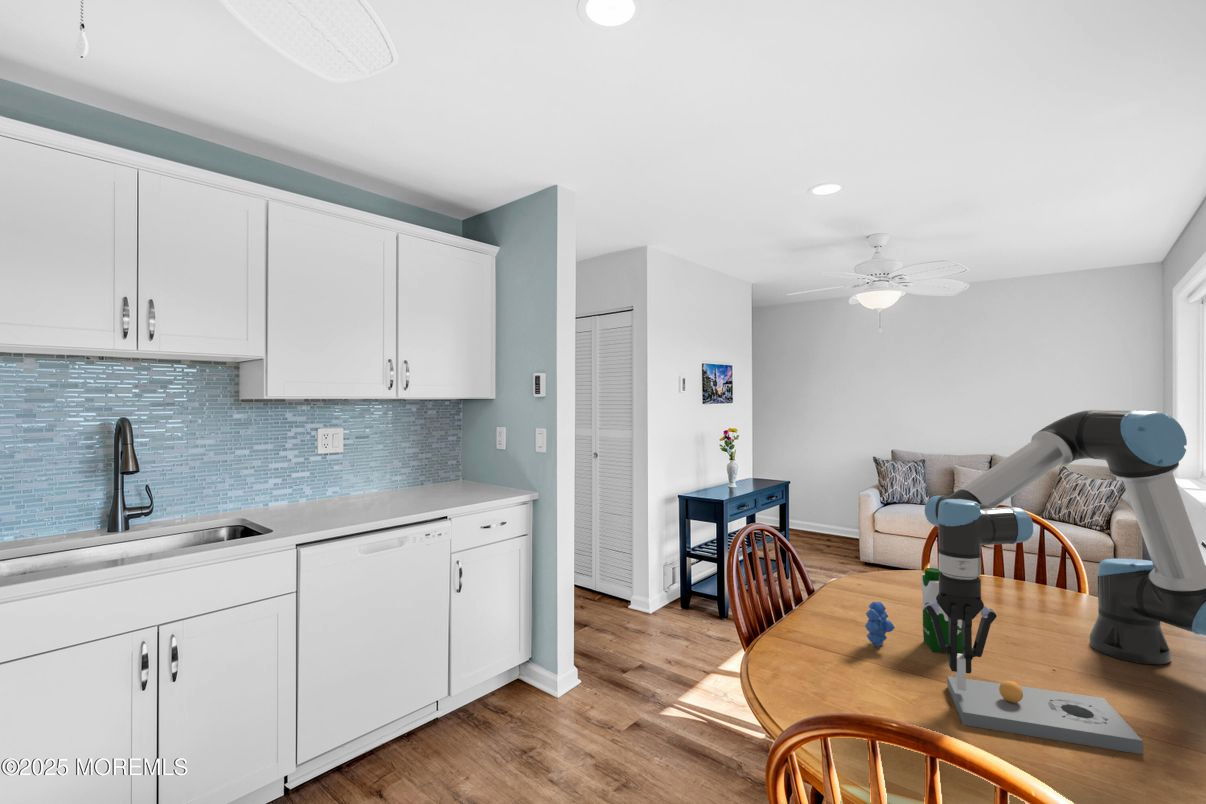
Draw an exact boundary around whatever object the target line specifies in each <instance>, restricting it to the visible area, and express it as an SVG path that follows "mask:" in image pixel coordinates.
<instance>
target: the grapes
mask: <svg viewBox="0 0 1206 804" xmlns="http://www.w3.org/2000/svg"><path fill="white" fill-rule="evenodd" d="M868 608H869V610H868V611H866V613H865V615H866V618H868V620H867V622H866V623H865V625H864V627H865V629H866V630H867V632H868V634H867V633H866V637H867V640H869V642H870V643H871V644H872V645H873V647H876V648H879V647H880V646H882V645H883V644H884V641H886V640H887V638H888V637H887V635H886V633H891V632H893V630H895V628H896V627H895V625H894V624H893V623H892V621H890V620H889V619H888V618H889V615H888V613H887V612H886V609H887V608H886V606H885V605H884V603H882V602H881V601H872V602H871V603H870V604H869V605H868Z"/></svg>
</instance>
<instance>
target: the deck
mask: <svg viewBox="0 0 1206 804" xmlns="http://www.w3.org/2000/svg"><path fill="white" fill-rule="evenodd" d="M946 678H947V679H946V680H947V685H946V686H947V690H948V693H949V694H950V697H951V700H952V701H953V704H954V706H955V708H956V710H957V711H956V712H957V714H958V716H959V718H960V720H961V723H962V725H963V726H969V727H973V728H974V727H975V728H980V729H985V730H986V729H987V730H992V731H998V732H1004V733H1009V734H1010V733H1011V734H1017V735H1023V736H1028V737H1035V738H1041V739H1048V740H1054V741H1058V742H1059V741H1060V742H1064V743H1072V744H1078V745H1083V746H1090V747H1095V748H1102V749H1108V750H1114V751H1120V752H1125V753H1132V754H1138V755H1144V740H1143V739H1142V738H1141V737H1140V736H1139V735H1138V733H1137V732H1136V731H1135V730H1134V729H1133V728H1132V727H1131V726H1130V725H1129V723H1127V721H1125V720H1124V718H1122V716H1121V715H1120V714H1119V713H1118V712H1117V711H1116V710H1115V709H1114V708H1113V706H1112V705H1110V703H1109V702H1108V701H1107V700H1106V699H1105V698H1104V697H1099V696H1091V695H1085V694H1078V693H1072V692H1071V693H1070V692H1065V691H1064V692H1063V691H1058V690H1050V689H1042V688H1035V687H1029V686H1022V685H1019V686H1020V687H1021V689H1022V691H1023V698H1022V699H1021V701H1019V702H1016V703H1012V702H1009V701H1007V700H1005V699H1004V698H1003V697H1002V696H1001V694H1000V691H999V687H1000V684H1001V683H1002V682H1001V683H1000V682H992V681H986V680H985V681H984V680H977V679H970V678H966V691H964V690H958V689H957V687H956V685H955V676H950V675H947V677H946Z"/></svg>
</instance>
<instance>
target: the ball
mask: <svg viewBox="0 0 1206 804" xmlns="http://www.w3.org/2000/svg"><path fill="white" fill-rule="evenodd" d="M1020 686H1021V685H1020V684H1018V683H1017V682H1015V681H1012V680H1004V681H1002V682H1001V684H1000V687H999V691H1000V694H1001V696H1002V697H1003V698H1004V699H1005V700H1007V701H1009V702H1012V703H1016V702H1019V701H1021V699H1022V698H1023V691H1022V689H1021V687H1020Z"/></svg>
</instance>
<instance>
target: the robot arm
mask: <svg viewBox="0 0 1206 804" xmlns="http://www.w3.org/2000/svg"><path fill="white" fill-rule="evenodd" d="M1187 445H1188V443H1187V436H1186V433H1185V431H1184V429H1183V426H1182V425H1181V424H1180V423H1179V422H1178V421H1177V420H1176V419H1175V418H1174V417H1172V416H1171V415H1169V414H1166V413H1164V412H1161V411H1152V410H1145V409H1135V410H1118V409H1117V410H1116V409H1115V410H1112V409H1111V410H1109V409H1108V410H1107V409H1106V410H1103V409H1087V410H1082V411H1078V412H1074V413H1072V414H1069V415H1066V416H1064V417H1061V418H1059V419H1058V420H1056V421H1053V422H1052V423H1050V424H1048V425H1046V426H1044V427H1042V429H1040V430H1038V431H1037V432H1035V433H1034V434H1033V435H1032V436H1031V439H1030V442H1028V443H1027V444H1025V445H1024V446H1022V447H1021V448H1020V449H1017V450H1016V451H1015V452H1013V453H1011V454H1010V455H1008V457H1006V458H1004V459H1003V460H1002V461H1000V462H998V463H997V464H995V465H994V466H993V467H991V468H990V469H988V470H986V471H985V472H983V473H982V474H980V475H979V476H977V477H976V478H974V479H973V480H972V481H970V482H967V484H966V485H964V486H962V487H960V488H959V489H958V490H956V491H955V492H953V493H951V494H950V495H948V496H947V495H934V496H932V497H929V499H928V500H927V501H926V503H925V504H924V505H925V506H924V515H925V518H926V520H927V522H929V523H930V524H931V525H933V526H935V527H937V533H938V535H937V537H938V569H939V570H940V571H941V573H940V574H939V593H938V595H937V597H936V601H934V602H932V603H925V607H926V609H927V611H928V612H929V614H930V615H931V618H932V622H933V626H934V629H935V633H936V636H937V640H938V644H939V647H940V649H941V651H942V652H943V653H942V654H947V655H948V667H949V669H950V671H951V672H954V677H955V685H956V687H957V689H958V690H964V691H966V679H967V674H968V675H969V674H971V673H972V660H974V658H975V657H977V658H982V656H983V653H984V649H985V647H986V646H985V645H986V643H987V638H988V636H989V631H990V628H991V625H992V623H993V622H994V621H995V620H996V619H997V614H996V613H995V611H994V610H993V609H992V608H988V607H987V606H985V603H984V602H983V600H982V579H981V578H980V577H979V576H981V573H982V571H981V570H982V569H981V555H982V554H981V552H982V551H981V547H982V546H993V545H1014V544H1018V543H1024V542H1027V541H1029V539H1031V538H1032V536H1033V534H1034V522H1033V519H1032V517H1031V516H1030V514H1029V513H1028V512H1026V510H1024V509H1023V508H1020V507H1013V506H1012V507H1011V506H1004V507H999V506H1000V505H1002V504H1003V503H1004V502H1007V501H1008V500H1009V499H1010V498H1011V497H1013V496H1015V495H1017V494H1018V493H1019V492H1021V491H1022V490H1024V489H1025V488H1026V487H1029V486H1030V485H1031V484H1033V483H1034V482H1035V481H1038V480H1039V479H1040V478H1041V477H1043V476H1045V475H1046V474H1048V473H1049V472H1050V471H1052V470H1053V469H1055V468H1056V467H1065V466H1068V465H1069V464H1071V463H1073V462H1074V461H1077V460H1083V459H1084V460H1085V459H1093V460H1100V461H1101V460H1102V461H1105V462H1106V463H1107V466H1108V469H1109V471H1110V474H1111V475H1113V476H1114V477H1116V478H1119V479H1120V480H1122V482H1123V485H1124V488H1125V492H1126V494H1127V496H1128V499H1129V502H1130V504H1131V507H1132V510H1133V513H1134V515H1135V519H1136V521H1137V524H1138V527H1139V529H1140V532H1141V535H1142V537H1143V540H1144V543H1145V546H1146V549H1147V552H1148V554H1149V558H1150V559H1151V560H1148V559H1147V560H1146V559H1137V558H1106V559H1102V560H1100V561H1099V563H1098V568H1097V574H1096V577H1097V604H1098V605H1097V607H1098V609H1097V610H1098V614H1097V615H1098V616H1097V618H1096V620H1095V622H1094V624H1093V627H1092V629H1091V632H1090V634H1089V645H1090V646H1091V648H1093V649H1094V650H1096V651H1098V652H1099V653H1102V654H1104V655H1107V656H1110V657H1112V658H1115V659H1119V660H1122V661H1127V662H1132V663H1137V664H1142V665H1143V664H1145V665H1166V664H1168V663H1170V662H1171V661H1172V659H1171V658H1172V655H1171V653H1172V652H1171V648H1170V647H1169V644H1168V642H1167V639H1166V636H1165V635H1164V632H1163V629H1162V628H1161V627H1162V626H1161V623H1164V624H1166V625H1171V626H1173V627H1175V628H1179V629H1182V630H1185V631H1187V632H1191V633H1193V634H1194V635H1199V636H1200V635H1202V636H1205V637H1206V563H1205V560H1204V557H1203V554H1202V551H1201V549H1200V546H1199V543H1198V541H1197V538H1196V535H1195V533H1194V530H1193V529H1194V528H1193V526H1192V523H1191V520H1190V518H1189V515H1188V512H1187V510H1186V507H1185V504H1184V501H1183V498H1182V496H1181V493H1180V490H1179V487H1178V484H1177V482H1176V478H1175V475H1174V472H1175V471H1176V470H1177V469H1178V467H1179V466H1180V461H1182V460H1183V458H1184V456H1185V454H1186V452H1187V449H1186V448H1185V446H1187ZM939 606H940V607H941V608H942V610H943V611H944V612H945V613H946V615H947V616H948V635H949V646H947V645H946V643H945V639H944V635H943V632H942V628H941V625H940V621H939V618H938V615H937V613H938V612H939V609H938V607H939ZM979 614H980V615H981V618H980V621H979V625H978V628H977V632H976V635H975V638H974V641H973V640H972V639H973V637H972V636H973V634H972V633H973V632H972V630H973V628H972V627H973V620H974V619H975V618H976V617H977V616H978V615H979ZM958 620H962V635H963V654H959V653H957V625H958ZM973 642H974V643H973Z"/></svg>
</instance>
